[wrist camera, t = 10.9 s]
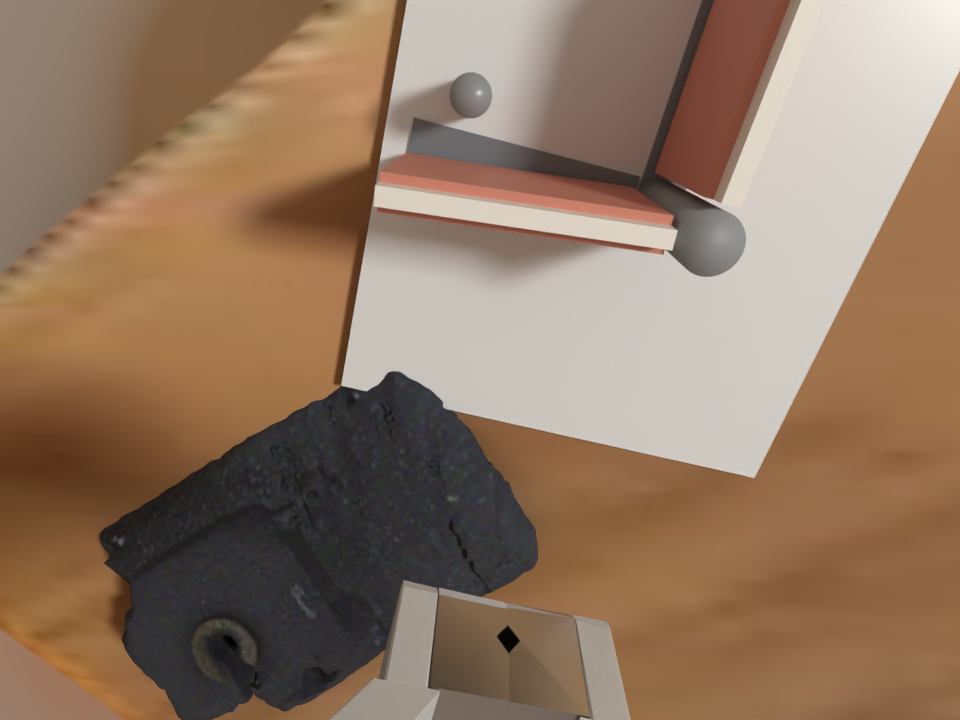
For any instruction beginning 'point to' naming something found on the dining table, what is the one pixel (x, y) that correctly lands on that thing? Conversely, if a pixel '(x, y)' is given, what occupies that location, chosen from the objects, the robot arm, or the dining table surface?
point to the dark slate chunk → (311, 547)
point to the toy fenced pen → (632, 162)
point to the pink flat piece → (728, 123)
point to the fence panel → (523, 203)
